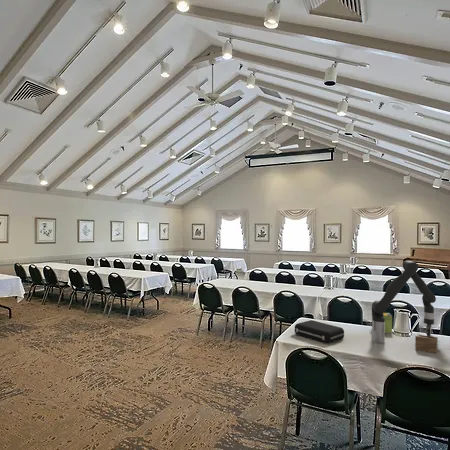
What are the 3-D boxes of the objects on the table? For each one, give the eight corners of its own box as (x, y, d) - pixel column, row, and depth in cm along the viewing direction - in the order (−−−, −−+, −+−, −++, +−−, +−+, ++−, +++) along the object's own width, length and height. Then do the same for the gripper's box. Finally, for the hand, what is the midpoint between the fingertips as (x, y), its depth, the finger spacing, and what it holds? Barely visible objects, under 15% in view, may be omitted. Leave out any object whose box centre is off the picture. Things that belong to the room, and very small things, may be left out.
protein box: (392, 333, 318) (392, 315, 318) (374, 331, 321) (374, 314, 321) (389, 329, 328) (389, 313, 328) (371, 328, 331) (371, 312, 331)
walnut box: (436, 353, 266) (436, 339, 266) (415, 349, 274) (415, 336, 274) (437, 347, 279) (437, 334, 279) (417, 344, 287) (417, 331, 287)
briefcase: (349, 338, 302) (349, 326, 302) (328, 345, 282) (328, 333, 282) (314, 328, 330) (314, 317, 330) (292, 334, 310) (292, 323, 310)
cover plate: (437, 346, 283) (438, 339, 283) (418, 343, 291) (418, 336, 291) (439, 342, 295) (439, 334, 295) (420, 338, 303) (420, 331, 303)
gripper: (433, 320, 285) (433, 341, 285) (434, 316, 297) (434, 336, 297) (422, 318, 289) (422, 339, 289) (424, 315, 301) (424, 335, 301)
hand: (428, 338), depth 293 cm, fingers open, 6 cm apart
